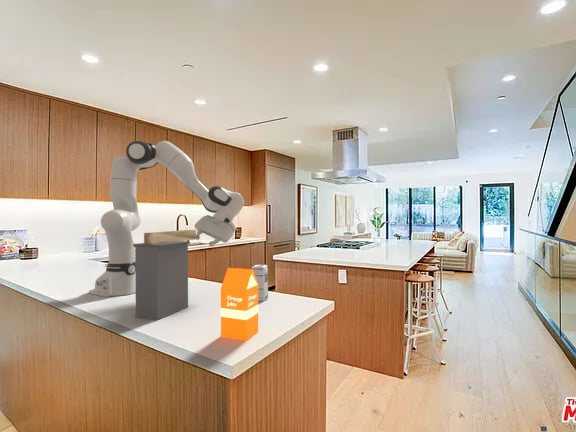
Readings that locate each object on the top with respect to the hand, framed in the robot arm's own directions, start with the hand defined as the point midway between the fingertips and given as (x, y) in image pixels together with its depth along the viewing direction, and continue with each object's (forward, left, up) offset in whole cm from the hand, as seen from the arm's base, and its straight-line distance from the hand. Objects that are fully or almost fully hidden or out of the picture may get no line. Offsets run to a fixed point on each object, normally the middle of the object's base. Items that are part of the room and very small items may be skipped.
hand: (203, 242), depth 147 cm
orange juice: (+42, -38, -24) cm, 61 cm away
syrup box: (+29, 0, -24) cm, 38 cm away
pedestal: (+3, -29, -24) cm, 38 cm away
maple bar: (+4, -24, +2) cm, 25 cm away
